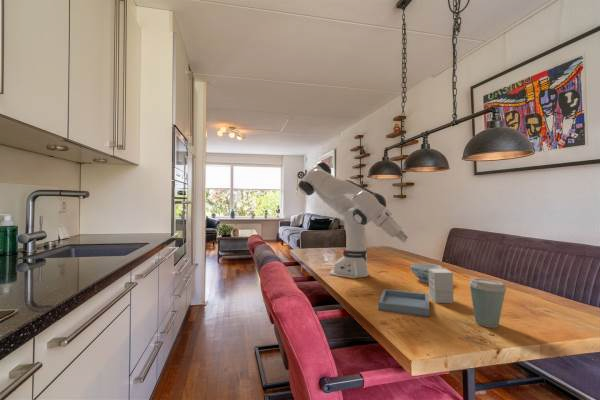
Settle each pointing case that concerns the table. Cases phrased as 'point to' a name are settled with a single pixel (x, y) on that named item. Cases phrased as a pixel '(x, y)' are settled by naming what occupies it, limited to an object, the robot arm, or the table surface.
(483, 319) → the disposable coffee cup
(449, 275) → the supplement box
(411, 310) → the tray
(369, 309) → the table surface
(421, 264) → the chinaware
